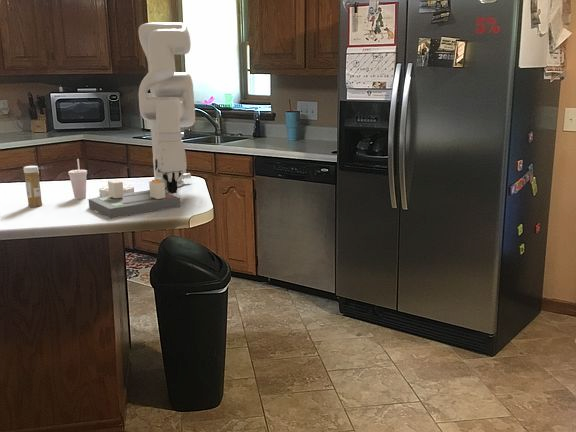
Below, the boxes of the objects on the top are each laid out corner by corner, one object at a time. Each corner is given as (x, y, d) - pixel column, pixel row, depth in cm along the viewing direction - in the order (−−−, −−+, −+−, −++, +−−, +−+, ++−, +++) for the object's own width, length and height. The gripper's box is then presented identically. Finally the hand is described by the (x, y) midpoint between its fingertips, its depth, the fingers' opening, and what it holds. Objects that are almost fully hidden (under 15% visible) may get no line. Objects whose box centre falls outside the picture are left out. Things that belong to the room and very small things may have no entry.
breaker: (117, 194, 208) (116, 179, 207) (123, 197, 204) (122, 182, 203) (109, 195, 206) (107, 181, 205) (115, 198, 203) (113, 183, 201)
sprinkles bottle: (42, 206, 207) (38, 166, 204) (28, 208, 206) (23, 167, 202) (42, 203, 211) (37, 164, 208) (27, 205, 210) (22, 165, 206)
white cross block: (95, 199, 218) (94, 189, 217) (106, 192, 230) (105, 182, 229) (128, 199, 217) (128, 189, 217) (138, 192, 229) (137, 182, 228)
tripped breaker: (158, 195, 206) (157, 178, 205) (165, 197, 203) (164, 180, 201) (150, 196, 205) (149, 179, 203) (156, 199, 201) (155, 182, 199)
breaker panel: (156, 197, 219) (155, 188, 218) (180, 206, 205) (179, 197, 204) (89, 207, 205) (88, 198, 204) (110, 218, 191) (109, 208, 190)
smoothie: (83, 200, 216) (80, 160, 212) (67, 199, 217) (63, 160, 214) (93, 196, 222) (89, 157, 218) (76, 195, 223) (72, 157, 220)
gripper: (183, 134, 209) (186, 188, 214) (142, 138, 200) (146, 194, 205) (195, 136, 204) (197, 191, 208) (153, 140, 195) (156, 197, 199)
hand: (172, 192), depth 207 cm, fingers closed
